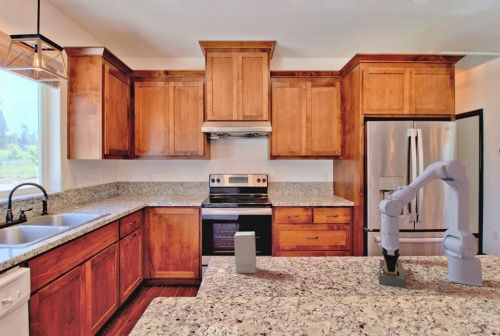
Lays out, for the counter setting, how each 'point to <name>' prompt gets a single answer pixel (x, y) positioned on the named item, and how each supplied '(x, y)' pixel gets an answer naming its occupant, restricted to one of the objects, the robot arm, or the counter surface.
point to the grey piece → (392, 276)
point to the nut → (387, 270)
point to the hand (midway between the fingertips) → (391, 269)
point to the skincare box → (245, 252)
